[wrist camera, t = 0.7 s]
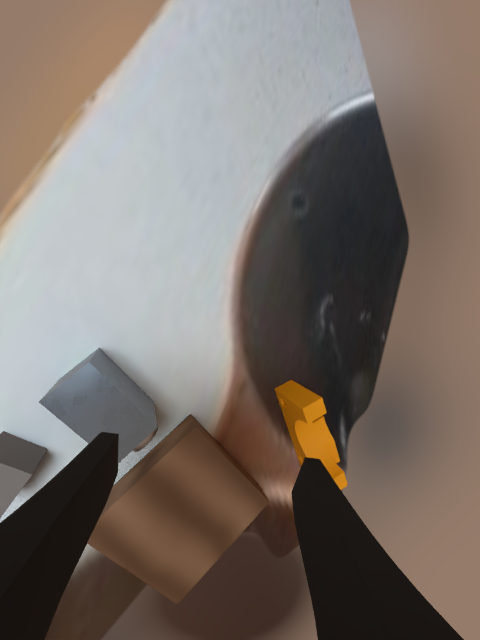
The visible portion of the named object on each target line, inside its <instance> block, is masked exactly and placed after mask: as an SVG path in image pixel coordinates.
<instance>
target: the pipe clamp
mask: <svg viewBox="0 0 480 640" xmlns="http://www.w3.org/2000/svg"><path fill="white" fill-rule="evenodd" d="M275 392H276V395H277V398H278V401H279V404H280V406H281V409H282V412H283V415H284V418H285V421H286V424H287V427H288V430H289V433H290V436H291V439H292V442H293V445H294V448H295V451H296V454H297V457H298V460H299V463H300V465H301V466H302V464H303V461H304V458H305V457H308V458H316V459H320V460H321V462H322V463H323V464H324V466H325V467H326V469H327V470H328V472H329V473H330V475H331V476H332V478H333V479H334V481H335V482H336V484H337V485H338V487H339V488H340V490H341V489H343V488H344V487H346V486H347V485H348V484H347V481H346V477H345V474H344V471H343V470H341V469H340V468H339V467H338V465H337V464H336V463H338V462H339V461H340V459H339V456H338V452H337V449H336V445H335V442H334V439H333V437H332V435H331V434H330V432H329V430H328V428H327V425H326V423H325V420H324V417H323V416H322V415H324V414H325V413H326V409H325V406H324V403H323V399H322V397H320V396H318V395H317V394H315V393H313V392H311V391H310V390H308V389H306V388H305V387H303V386H301V385H299V384H298V383H296V382H294V381H292V380H290V381H288V382H286V383H284V384H282V385H281V386H279V387H277V388H275Z"/></svg>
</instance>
